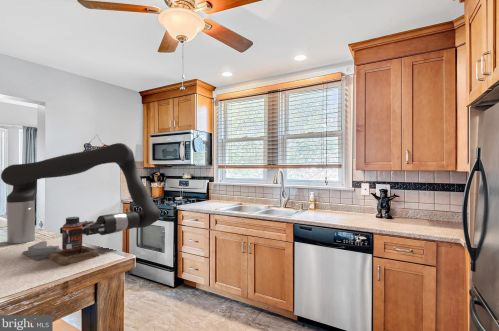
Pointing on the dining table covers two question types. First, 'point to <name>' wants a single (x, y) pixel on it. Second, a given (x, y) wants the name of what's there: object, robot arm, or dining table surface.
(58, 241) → the dining table surface
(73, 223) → the supplement bottle
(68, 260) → the frame
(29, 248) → the metal v block
